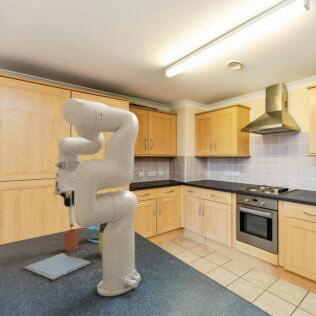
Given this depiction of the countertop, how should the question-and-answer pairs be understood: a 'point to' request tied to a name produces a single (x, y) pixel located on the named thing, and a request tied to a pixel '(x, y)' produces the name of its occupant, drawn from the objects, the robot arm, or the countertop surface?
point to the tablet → (57, 266)
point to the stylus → (71, 211)
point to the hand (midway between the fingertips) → (70, 205)
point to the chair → (95, 229)
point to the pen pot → (71, 240)
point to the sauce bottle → (101, 229)
